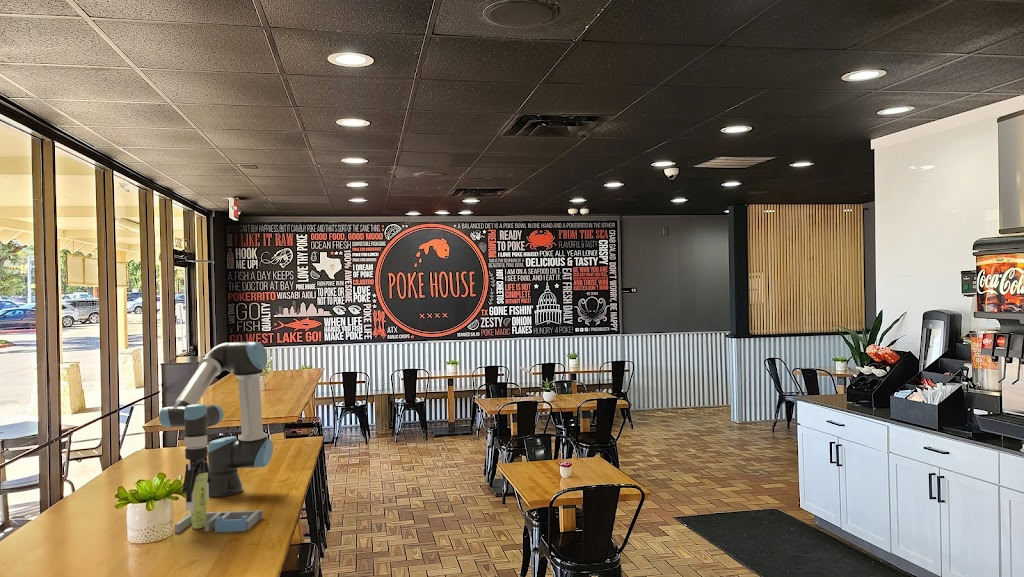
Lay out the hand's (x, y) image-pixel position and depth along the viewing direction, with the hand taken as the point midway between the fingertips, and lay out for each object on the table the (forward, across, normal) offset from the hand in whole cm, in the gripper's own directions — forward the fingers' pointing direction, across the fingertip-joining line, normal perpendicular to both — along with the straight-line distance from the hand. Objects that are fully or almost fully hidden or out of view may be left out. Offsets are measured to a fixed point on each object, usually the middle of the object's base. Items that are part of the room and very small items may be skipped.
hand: (197, 505), depth 272 cm
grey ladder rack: (+8, -1, +7) cm, 11 cm away
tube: (+8, 0, 0) cm, 8 cm away
